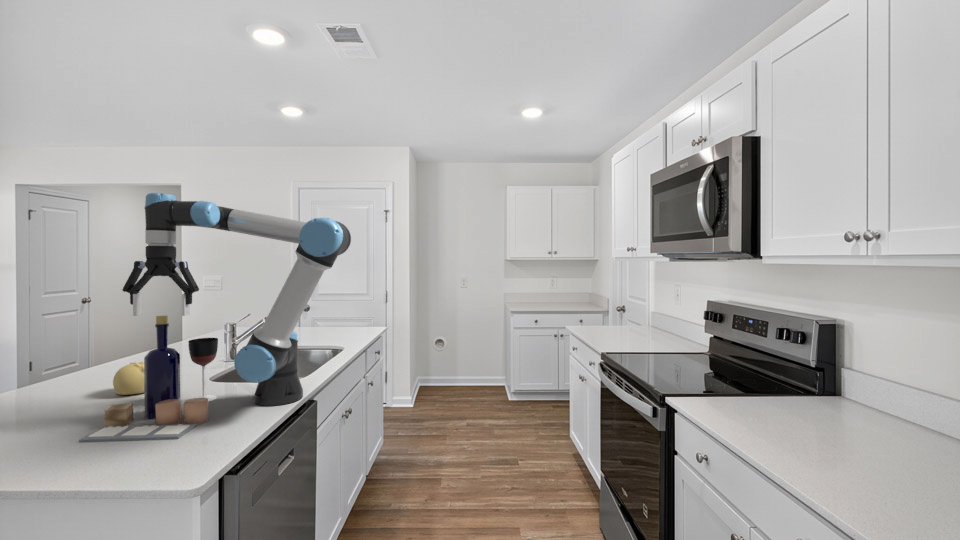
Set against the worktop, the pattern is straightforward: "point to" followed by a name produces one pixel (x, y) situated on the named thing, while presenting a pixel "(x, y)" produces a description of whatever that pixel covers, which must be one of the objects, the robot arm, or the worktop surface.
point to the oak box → (119, 415)
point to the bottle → (161, 371)
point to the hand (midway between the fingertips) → (161, 315)
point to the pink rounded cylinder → (168, 412)
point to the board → (138, 432)
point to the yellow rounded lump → (129, 379)
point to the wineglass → (203, 356)
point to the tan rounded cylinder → (196, 411)
